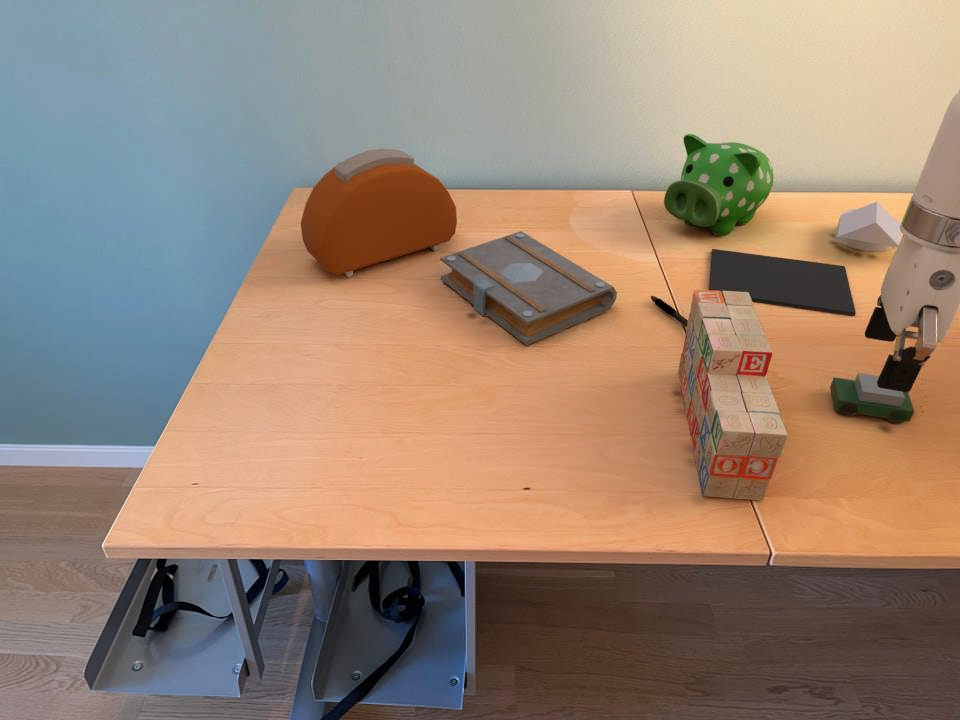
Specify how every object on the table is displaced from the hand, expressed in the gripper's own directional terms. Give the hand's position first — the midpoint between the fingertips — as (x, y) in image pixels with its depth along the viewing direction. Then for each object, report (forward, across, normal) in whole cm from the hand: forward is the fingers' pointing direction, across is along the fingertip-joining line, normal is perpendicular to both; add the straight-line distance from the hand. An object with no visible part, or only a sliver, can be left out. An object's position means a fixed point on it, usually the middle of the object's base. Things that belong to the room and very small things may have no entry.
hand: (885, 362), depth 78 cm
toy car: (+5, +2, 0) cm, 6 cm away
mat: (+7, +28, +9) cm, 30 cm away
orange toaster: (+8, +19, +70) cm, 73 cm away
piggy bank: (+7, +46, +19) cm, 50 cm away
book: (+7, +13, +45) cm, 47 cm away
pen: (+7, +12, +22) cm, 26 cm away
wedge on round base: (+7, +45, -5) cm, 46 cm away
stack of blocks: (+7, -9, +17) cm, 20 cm away
